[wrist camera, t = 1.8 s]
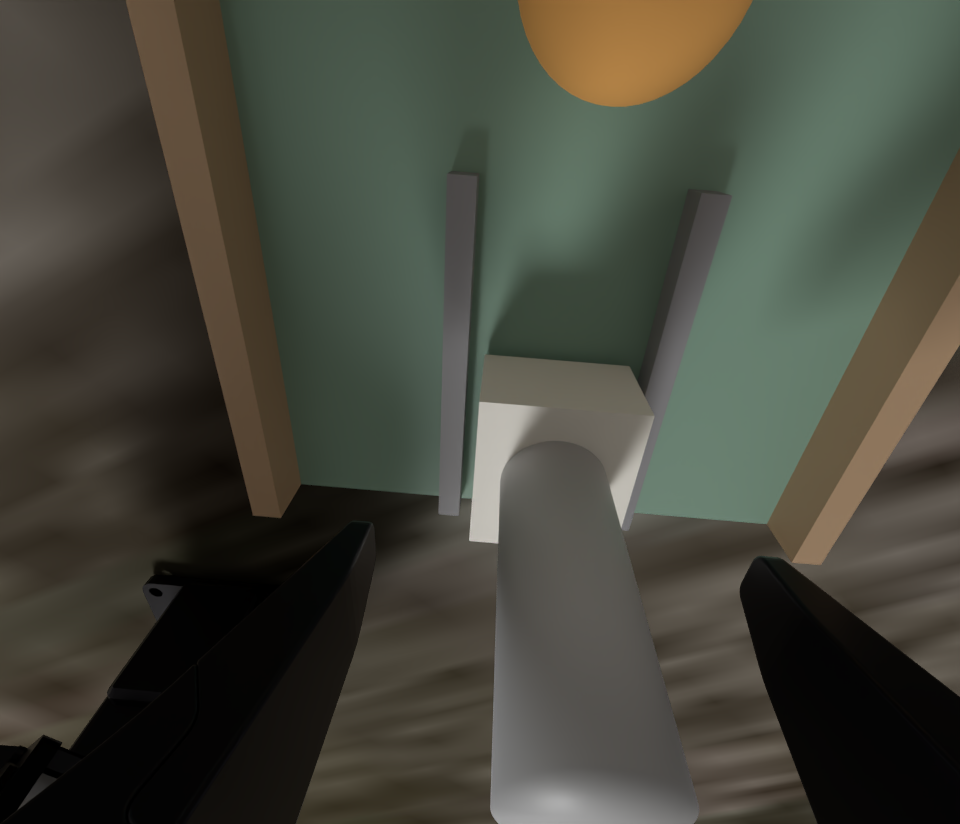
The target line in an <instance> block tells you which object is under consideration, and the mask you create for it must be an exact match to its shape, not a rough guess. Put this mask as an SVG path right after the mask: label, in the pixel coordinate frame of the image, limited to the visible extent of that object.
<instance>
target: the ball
mask: <svg viewBox="0 0 960 824" xmlns="http://www.w3.org/2000/svg"><path fill="white" fill-rule="evenodd" d="M752 1H753V0H518V4H519V10H520V16H521V20H522V23H523V26H524V30H525V33H526V36H527V39H528V41H529V43H530V46H531V48H532V50H533V52H534V54H535V56H536V57H537V59H538V61H539V63H540V64H541V66H542V67H543V68H544V70H545V71H546V72H547V73H548V75H549V76H550V77H551V78H552V79H553V80H554V81H555V82H556V83H557V84H558V85H559V86H560V87H562V88H563V89H565V90H566V91H567V92H569V93H570V94H572V95H574V96H576V97H578V98H580V99H581V100H584V101H587V102H590V103H593V104H597V105H603V106H609V107H627V106H633V105H639V104H643V103H646V102H649V101H652V100H655V99H657V98H659V97H662V96H664V95H666V94H668V93H670V92H672V91H674V90H675V89H677V88H678V87H680V86H682V85H683V84H685V83H686V82H688V81H689V80H690V79H692V78H693V77H694V76H695V75H697V74H698V73H699V72H700V71H701V70H702V69H703V68H704V67H705V66H706V65H707V64H708V63H709V62H711V61H712V60H713V59H714V57H715V56H716V55H717V54H718V53H719V51H720V50H721V49H722V48H723V47H724V45H725V44H726V43H727V42H728V41H729V39H730V38H731V36H732V35H733V33H734V32H735V30H736V29H737V27H738V26H739V25H740V23H741V21H742V20H743V18H744V16H745V14H746V12H747V10H748V9H749V7H750V5H751V3H752Z"/></svg>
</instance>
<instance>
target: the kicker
mask: <svg viewBox="0 0 960 824" xmlns="http://www.w3.org/2000/svg"><path fill="white" fill-rule="evenodd" d="M654 417H655V416H654V414H653V412H652V410H651V408H650V406H649V404H648V402H647V400H646V398H645V396H644V394H643V392H642V390H641V388H640V386H639V384H638V382H637V380H636V378H635V376H634V374H633V372H632V370H631V368H630V366H622V365H610V364H597V363H585V362H573V361H560V360H548V359H536V358H524V357H511V356H499V355H487V354H485V357H484V365H483V374H482V383H481V391H480V400H479V413H478V427H477V441H476V454H475V468H474V482H473V496H472V510H471V524H470V537H469V541H477V542H488V543H498V568H497V602H496V635H495V669H494V703H493V736H492V770H491V804H490V809H491V813H492V815H493V817H494V819H495V820H496V821H497V822H498V824H694V823H695V821H696V819H697V817H698V814H699V805H698V801H697V798H696V794H695V791H694V787H693V783H692V780H691V776H690V773H689V769H688V765H687V762H686V758H685V755H684V751H683V748H682V744H681V740H680V737H679V733H678V730H677V726H676V722H675V719H674V715H673V712H672V708H671V705H670V701H669V697H668V694H667V690H666V687H665V683H664V679H663V676H662V672H661V669H660V665H659V662H658V658H657V654H656V651H655V647H654V644H653V640H652V637H651V633H650V629H649V626H648V622H647V619H646V615H645V611H644V608H643V604H642V601H641V597H640V594H639V590H638V586H637V583H636V579H635V576H634V572H633V568H632V565H631V561H630V558H629V554H628V551H627V547H626V543H625V540H624V536H623V533H622V529H621V528H622V524H623V521H624V518H625V514H626V511H627V508H628V504H629V501H630V497H631V494H632V491H633V487H634V484H635V481H636V477H637V474H638V471H639V467H640V464H641V461H642V457H643V454H644V451H645V447H646V444H647V441H648V437H649V434H650V430H651V427H652V424H653V420H654Z"/></svg>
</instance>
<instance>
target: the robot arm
mask: <svg viewBox="0 0 960 824" xmlns="http://www.w3.org/2000/svg"><path fill="white" fill-rule="evenodd" d="M375 560H376V544H375V530H374V525H373V523H371V522H366V521H351V522H349V523H348V524H347V525H346V526H345V527H344V528H343V529H342V530H340V531H339V532H338V533H337V534H336V535H335V536H334V537H333V538H332V539H331V540H330V541H328V542H327V543H326V544H325V545H324V546H323V547H322V548H321V549H320V550H319V551H317V552H316V553H315V554H314V555H313V556H312V557H311V558H310V559H309V560H308V561H307V562H305V563H304V564H303V565H302V566H301V567H300V568H299V569H298V570H297V571H296V572H294V573H293V574H292V575H291V576H290V577H289V578H288V579H287V580H286V581H285V582H284V583H282V584H281V585H280V586H274V585H263V584H252V583H241V582H230V581H218V580H207V579H196V578H185V577H174V576H162V575H154V576H152V577H150V579H149V580H148V581H147V582H146V584H145V585H144V586H143V592H144V594H145V597H146V599H147V601H148V603H149V605H150V607H151V610H152V612H153V614H154V616H155V618H156V620H157V622H156V623H155V625H154V626H153V628H152V629H151V630H150V632H149V633H148V634H147V636H146V637H145V639H144V640H143V641H142V643H141V644H140V646H139V647H138V648H137V650H136V651H135V652H134V654H133V655H132V657H131V658H130V659H129V661H128V662H127V664H126V665H125V666H124V668H123V669H122V670H121V672H120V673H119V675H118V676H117V677H116V679H115V680H114V682H113V683H112V684H111V686H110V687H109V689H108V691H107V695H108V696H107V697H106V699H105V700H104V702H103V703H102V704H101V706H100V707H99V709H98V710H97V711H96V713H95V714H94V716H93V717H92V718H91V720H90V721H89V723H88V724H87V725H86V727H85V728H84V730H83V731H82V732H81V734H80V735H79V737H78V738H77V739H76V741H75V742H74V744H73V745H72V746H71V748H70V749H69V750H68V749H65V748H63V747H60V746H61V744H62V742H60V741H57V740H55V739H53V738H50V737H48V736H45V735H42V736H41V737H40V738H39V739H38V740H37V741H35V742H34V743H33V744H32V745H31V746H30V747H28V748H25V747H23V746H5V745H0V824H296V822H297V819H298V816H299V813H300V810H301V807H302V804H303V801H304V798H305V795H306V792H307V789H308V786H309V784H310V781H311V778H312V775H313V772H314V769H315V766H316V763H317V760H318V757H319V754H320V751H321V748H322V745H323V743H324V740H325V737H326V734H327V731H328V728H329V725H330V722H331V719H332V716H333V713H334V710H335V707H336V705H337V702H338V699H339V696H340V693H341V690H342V687H343V684H344V681H345V678H346V675H347V672H348V669H349V666H350V664H351V661H352V658H353V655H354V651H355V648H356V645H357V642H358V638H359V633H360V630H361V625H362V621H363V616H364V612H365V607H366V602H367V598H368V593H369V589H370V584H371V580H372V575H373V571H374V566H375ZM740 598H741V602H742V605H743V609H744V613H745V617H746V620H747V624H748V628H749V631H750V635H751V639H752V642H753V646H754V650H755V654H756V657H757V661H758V665H759V668H760V671H761V675H762V678H763V681H764V684H765V687H766V689H767V692H768V695H769V697H770V700H771V703H772V705H773V708H774V711H775V713H776V716H777V719H778V721H779V724H780V726H781V729H782V732H783V734H784V737H785V740H786V742H787V745H788V747H789V750H790V753H791V755H792V758H793V761H794V763H795V766H796V768H797V771H798V774H799V776H800V779H801V782H802V784H803V787H804V789H805V792H806V795H807V797H808V800H809V803H810V805H811V808H812V811H813V813H814V816H815V818H816V821H817V824H960V697H959V696H958V695H957V694H955V693H954V692H953V691H952V690H950V689H949V688H948V687H946V686H945V685H944V684H943V683H941V682H940V681H939V680H937V679H936V678H935V677H934V676H932V675H931V674H930V673H928V672H927V671H926V670H925V669H923V668H922V667H921V666H919V665H918V664H917V663H916V662H914V661H913V660H912V659H911V658H909V657H908V656H907V655H905V654H904V653H903V652H902V651H900V650H899V649H898V648H896V647H895V646H894V645H893V644H891V643H890V642H889V641H887V640H886V639H885V638H884V637H882V636H881V635H880V634H878V633H877V632H876V631H875V630H873V629H872V628H871V627H869V626H868V625H867V624H866V623H864V622H863V621H862V620H860V619H859V618H858V617H857V616H855V615H854V614H853V613H851V612H850V611H849V610H848V609H846V608H845V607H844V606H842V605H841V604H840V603H839V602H837V601H836V600H835V599H833V598H832V597H831V596H830V595H828V594H827V593H826V592H824V591H823V590H822V589H821V588H819V587H818V586H817V585H815V584H814V583H813V582H812V581H810V580H809V579H808V578H806V577H805V576H804V575H803V574H801V573H800V572H799V571H797V570H796V569H795V568H794V567H792V566H791V565H790V564H788V563H787V562H786V561H784V560H783V559H781V558H777V557H767V556H758V557H756V558H755V559H754V560H753V562H752V564H751V565H750V567H749V569H748V571H747V573H746V575H745V577H744V579H743V581H742V583H741V586H740Z"/></svg>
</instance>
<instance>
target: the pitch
mask: <svg viewBox="0 0 960 824" xmlns="http://www.w3.org/2000/svg"><path fill="white" fill-rule="evenodd" d="M126 4H127V8H128V12H129V16H130V20H131V24H132V28H133V32H134V36H135V40H136V44H137V48H138V53H139V57H140V61H141V65H142V69H143V73H144V77H145V81H146V85H147V89H148V93H149V97H150V101H151V105H152V109H153V113H154V117H155V121H156V125H157V129H158V133H159V137H160V141H161V145H162V149H163V154H164V158H165V162H166V166H167V170H168V174H169V178H170V182H171V186H172V190H173V194H174V198H175V202H176V206H177V210H178V214H179V218H180V222H181V226H182V230H183V234H184V238H185V242H186V246H187V250H188V255H189V259H190V263H191V267H192V271H193V275H194V279H195V283H196V287H197V291H198V295H199V299H200V303H201V307H202V311H203V315H204V319H205V323H206V327H207V331H208V335H209V339H210V343H211V347H212V351H213V356H214V360H215V364H216V368H217V372H218V376H219V380H220V384H221V388H222V392H223V396H224V400H225V404H226V408H227V412H228V416H229V420H230V424H231V428H232V432H233V436H234V440H235V444H236V448H237V452H238V457H239V461H240V465H241V469H242V473H243V477H244V481H245V485H246V489H247V493H248V497H249V501H250V505H251V509H252V513H253V516H264V517H276V518H281V517H282V515H283V514H284V512H285V510H286V509H287V507H288V505H289V504H290V502H291V500H292V499H293V497H294V495H295V494H296V492H297V490H298V488H299V487H300V485H301V484H307V485H318V486H330V487H342V488H353V489H365V490H377V491H388V492H400V493H411V494H423V495H435V496H439V514H443V515H454V516H459V511H460V503H461V498H470V499H472V496H473V482H474V468H475V454H476V441H477V427H478V413H479V400H480V391H481V383H482V374H483V365H484V357H485V354H487V355H499V356H511V357H524V358H536V359H548V360H560V361H573V362H585V363H597V364H610V365H622V366H630V368H631V370H632V372H633V374H634V376H635V378H636V380H637V382H638V384H639V386H640V388H641V390H642V392H643V394H644V396H645V398H646V400H647V402H648V404H649V406H650V408H651V410H652V412H653V414H654V416H655V417H654V420H653V424H652V427H651V430H650V434H649V437H648V441H647V444H646V447H645V451H644V454H643V457H642V461H641V464H640V467H639V471H638V474H637V477H636V481H635V484H634V487H633V491H632V494H631V497H630V501H629V504H628V508H627V511H626V514H625V518H624V521H623V524H622V528H621V529H622V530H628V531H629V528H630V524H631V521H632V518H633V515H634V513H644V514H656V515H667V516H679V517H690V518H702V519H714V520H725V521H737V522H749V523H760V524H767V525H768V527H769V528H770V530H771V531H772V533H773V534H774V536H775V537H776V539H777V541H778V542H779V544H780V545H781V547H782V548H783V550H784V551H785V553H786V554H787V556H788V557H789V559H790V560H791V562H792V563H803V564H815V565H821V564H822V562H823V561H824V559H825V557H826V556H827V554H828V553H829V551H830V549H831V548H832V546H833V545H834V543H835V542H836V540H837V538H838V537H839V535H840V534H841V532H842V530H843V529H844V527H845V526H846V524H847V523H848V521H849V519H850V518H851V516H852V515H853V513H854V511H855V510H856V508H857V507H858V505H859V504H860V502H861V500H862V499H863V497H864V496H865V494H866V492H867V491H868V489H869V488H870V486H871V485H872V483H873V481H874V480H875V478H876V477H877V475H878V473H879V472H880V470H881V469H882V467H883V466H884V464H885V462H886V461H887V459H888V458H889V456H890V454H891V453H892V451H893V450H894V448H895V446H896V445H897V443H898V442H899V440H900V439H901V437H902V435H903V434H904V432H905V431H906V429H907V427H908V426H909V424H910V423H911V421H912V420H913V418H914V416H915V415H916V413H917V412H918V410H919V408H920V407H921V405H922V404H923V402H924V401H925V399H926V397H927V396H928V394H929V393H930V391H931V389H932V388H933V386H934V385H935V383H936V382H937V380H938V378H939V377H940V375H941V374H942V372H943V370H944V369H945V367H946V366H947V364H948V363H949V361H950V359H951V358H952V356H953V355H954V353H955V351H956V350H957V348H958V347H959V345H960V0H753V1H752V3H751V5H750V7H749V9H748V10H747V12H746V14H745V16H744V18H743V20H742V21H741V23H740V25H739V26H738V27H737V29H736V30H735V32H734V33H733V35H732V36H731V38H730V39H729V41H728V42H727V43H726V44H725V45H724V47H723V48H722V49H721V50H720V51H719V53H718V54H717V55H716V56H715V57H714V59H713V60H712V61H711V62H709V63H708V64H707V65H706V66H705V67H704V68H703V69H702V70H701V71H700V72H699V73H698V74H697V75H695V76H694V77H693V78H692V79H690V80H689V81H688V82H686V83H685V84H683V85H682V86H680V87H678V88H677V89H675V90H674V91H672V92H670V93H668V94H666V95H664V96H662V97H659V98H657V99H655V100H652V101H649V102H646V103H643V104H639V105H633V106H627V107H609V106H603V105H597V104H593V103H590V102H587V101H584V100H581V99H580V98H578V97H576V96H574V95H572V94H570V93H569V92H567V91H566V90H565V89H563V88H562V87H560V86H559V85H558V84H557V83H556V82H555V81H554V80H553V79H552V78H551V77H550V76H549V75H548V73H547V72H546V71H545V70H544V68H543V67H542V66H541V64H540V63H539V61H538V59H537V57H536V56H535V54H534V52H533V50H532V48H531V46H530V43H529V41H528V39H527V36H526V33H525V30H524V26H523V23H522V20H521V16H520V10H519V4H518V0H126Z"/></svg>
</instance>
